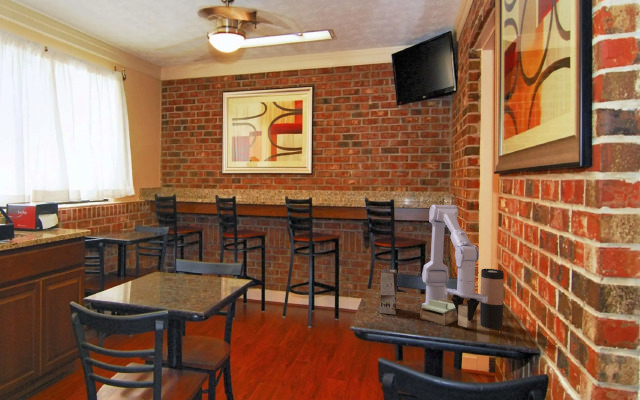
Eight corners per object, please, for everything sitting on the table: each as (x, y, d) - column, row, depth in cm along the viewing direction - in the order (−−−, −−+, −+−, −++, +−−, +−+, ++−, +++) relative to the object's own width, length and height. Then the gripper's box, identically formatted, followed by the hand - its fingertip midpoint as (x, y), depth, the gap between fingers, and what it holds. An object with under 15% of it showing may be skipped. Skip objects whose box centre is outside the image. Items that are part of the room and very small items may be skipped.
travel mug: (474, 323, 137) (476, 269, 137) (490, 321, 140) (491, 268, 140) (491, 330, 130) (493, 273, 130) (507, 328, 133) (509, 271, 133)
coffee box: (396, 314, 146) (397, 273, 146) (379, 313, 147) (380, 272, 147) (396, 308, 155) (397, 269, 155) (380, 307, 156) (381, 268, 156)
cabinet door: (438, 301, 150) (438, 295, 150) (460, 307, 143) (461, 300, 143) (421, 307, 141) (421, 300, 141) (444, 313, 135) (444, 306, 135)
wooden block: (462, 323, 134) (462, 303, 134) (471, 325, 132) (471, 305, 132) (458, 325, 132) (458, 305, 132) (466, 327, 129) (467, 307, 129)
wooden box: (439, 311, 151) (439, 298, 151) (462, 318, 144) (463, 303, 144) (420, 318, 142) (420, 304, 142) (444, 325, 134) (445, 310, 134)
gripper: (441, 277, 134) (440, 315, 134) (481, 285, 124) (480, 326, 124) (450, 275, 139) (449, 312, 139) (490, 282, 129) (489, 322, 129)
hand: (465, 318), depth 132 cm, fingers closed on wooden block, 3 cm apart
